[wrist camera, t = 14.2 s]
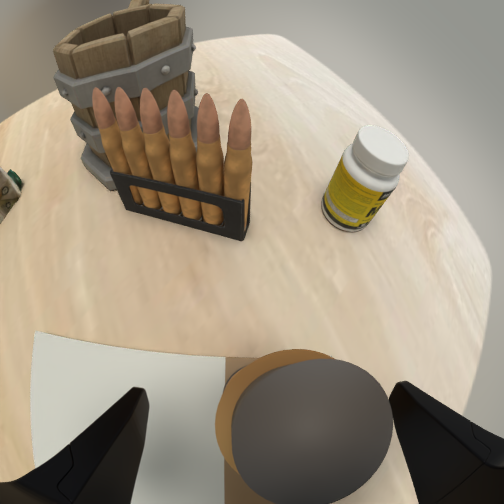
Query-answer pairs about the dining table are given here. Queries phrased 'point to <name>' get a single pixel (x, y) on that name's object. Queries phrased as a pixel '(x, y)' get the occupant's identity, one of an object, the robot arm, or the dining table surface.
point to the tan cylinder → (303, 426)
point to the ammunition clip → (179, 162)
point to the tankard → (126, 70)
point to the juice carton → (8, 191)
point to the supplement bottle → (364, 178)
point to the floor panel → (159, 420)
